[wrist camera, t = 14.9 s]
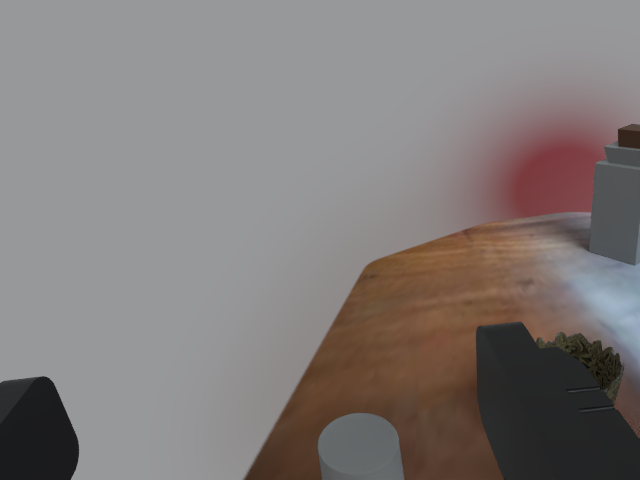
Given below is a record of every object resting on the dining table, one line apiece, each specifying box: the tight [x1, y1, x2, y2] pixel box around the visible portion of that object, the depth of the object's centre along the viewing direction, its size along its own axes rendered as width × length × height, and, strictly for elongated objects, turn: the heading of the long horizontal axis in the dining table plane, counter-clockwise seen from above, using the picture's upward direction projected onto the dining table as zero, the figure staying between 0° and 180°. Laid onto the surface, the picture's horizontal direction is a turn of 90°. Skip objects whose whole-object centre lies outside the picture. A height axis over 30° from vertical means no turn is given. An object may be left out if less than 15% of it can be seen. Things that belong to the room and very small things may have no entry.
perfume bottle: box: [589, 124, 640, 265], centre depth 73 cm, size 7×7×18 cm
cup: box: [536, 332, 624, 404], centre depth 45 cm, size 8×7×8 cm
